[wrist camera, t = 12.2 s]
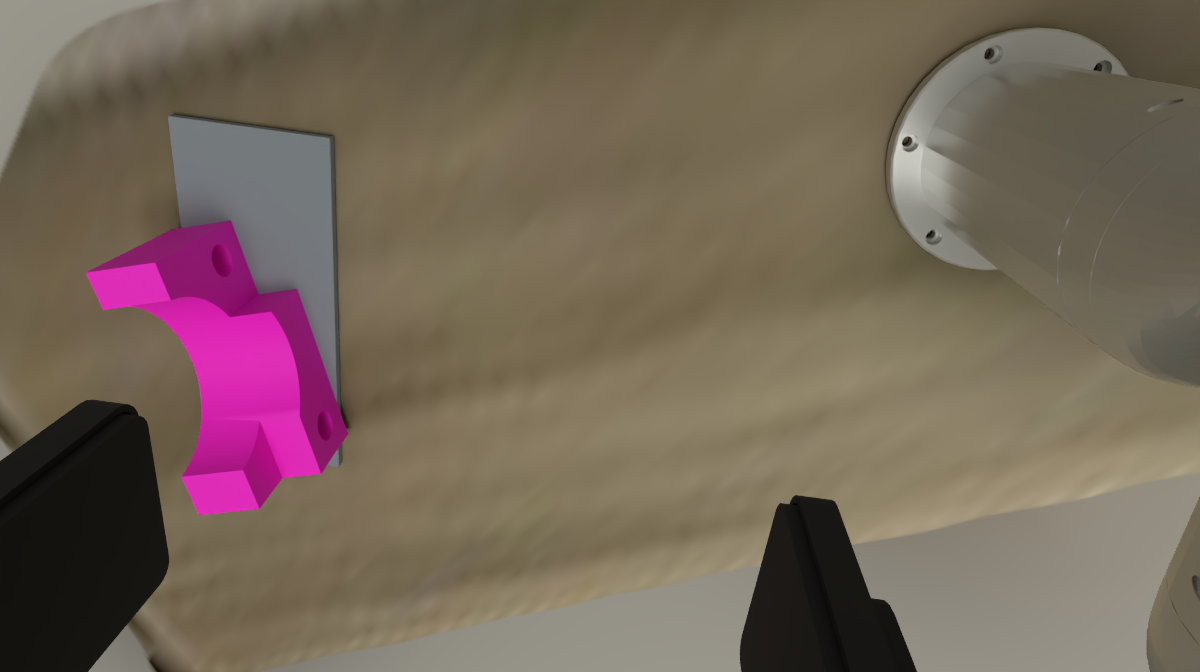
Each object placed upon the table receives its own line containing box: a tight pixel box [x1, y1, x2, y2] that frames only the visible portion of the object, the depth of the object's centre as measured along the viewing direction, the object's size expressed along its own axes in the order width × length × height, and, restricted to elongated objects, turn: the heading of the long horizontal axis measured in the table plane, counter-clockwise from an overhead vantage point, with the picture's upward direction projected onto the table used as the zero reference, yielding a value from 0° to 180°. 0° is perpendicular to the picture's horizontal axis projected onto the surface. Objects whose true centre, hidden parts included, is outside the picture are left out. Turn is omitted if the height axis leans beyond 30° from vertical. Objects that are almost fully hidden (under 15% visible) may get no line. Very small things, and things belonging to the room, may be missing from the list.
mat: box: [168, 114, 342, 467], centre depth 46 cm, size 9×22×1 cm, turn 173°
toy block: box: [86, 221, 348, 515], centre depth 43 cm, size 15×6×8 cm, turn 9°
